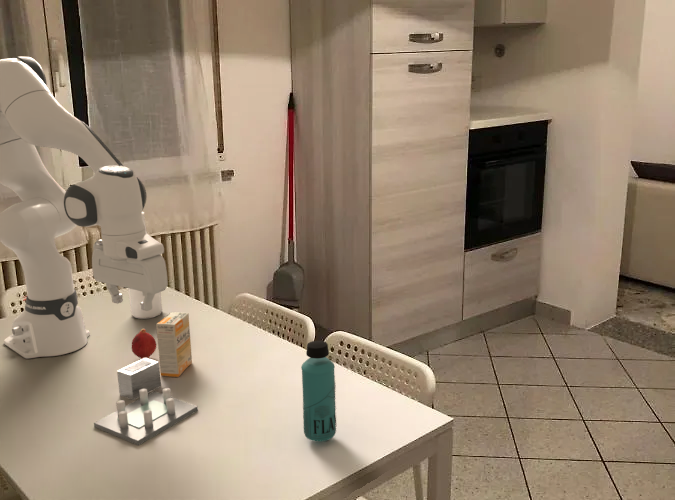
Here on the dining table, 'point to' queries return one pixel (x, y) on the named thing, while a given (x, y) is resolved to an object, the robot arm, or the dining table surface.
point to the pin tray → (145, 432)
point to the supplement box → (174, 344)
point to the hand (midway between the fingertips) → (132, 306)
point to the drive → (139, 378)
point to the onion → (143, 344)
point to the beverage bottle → (318, 393)
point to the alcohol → (138, 297)
